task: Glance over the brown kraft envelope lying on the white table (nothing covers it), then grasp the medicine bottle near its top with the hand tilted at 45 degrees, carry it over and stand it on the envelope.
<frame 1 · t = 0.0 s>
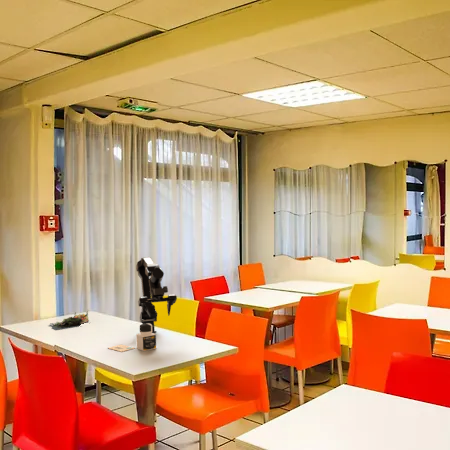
hand: (159, 316, 257), 15 cm above the table, tool tilted 35°, fingers open, 9 cm apart
medicine bottle: (146, 348, 253), on the table
envelope: (121, 348, 255), on the table
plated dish: (72, 325, 316), on the table
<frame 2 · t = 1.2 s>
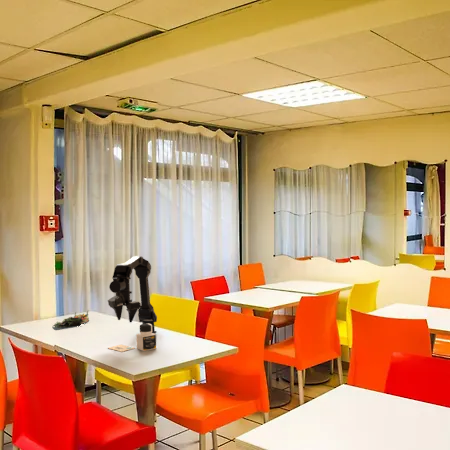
hand: (124, 321, 256), 13 cm above the table, tool pointing down, fingers open, 9 cm apart
nothing on the table moved.
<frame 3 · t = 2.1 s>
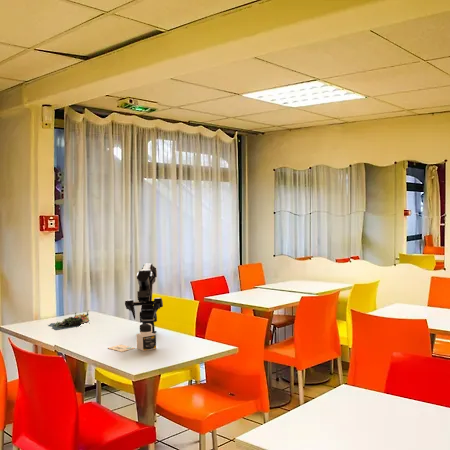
hand: (143, 318, 261), 13 cm above the table, tool tilted 35°, fingers open, 9 cm apart
nothing on the table moved.
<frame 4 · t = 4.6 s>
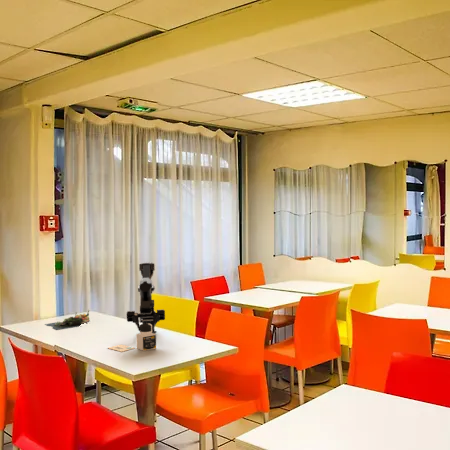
hand: (145, 330, 252), 9 cm above the table, tool tilted 45°, fingers closed on medicine bottle, 6 cm apart
medicine bottle: (146, 348, 253), on the table, touching gripper
everything else where it was.
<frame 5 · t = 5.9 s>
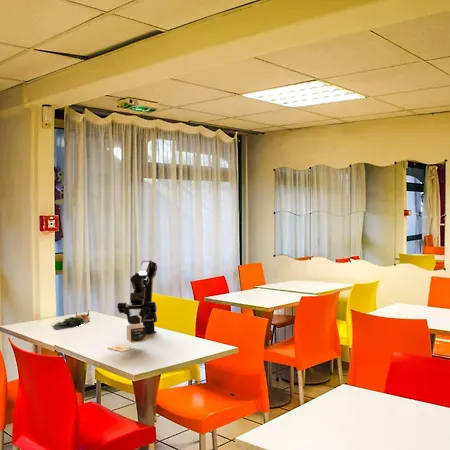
hand: (135, 322, 252), 13 cm above the table, tool tilted 45°, fingers closed on medicine bottle, 6 cm apart
medicine bottle: (136, 340, 253), point 4 cm above the table, touching gripper
everything else where it was.
when the fingers open (10 cm above the table, at t = 7.4 s): medicine bottle stays where it is, resting on envelope.
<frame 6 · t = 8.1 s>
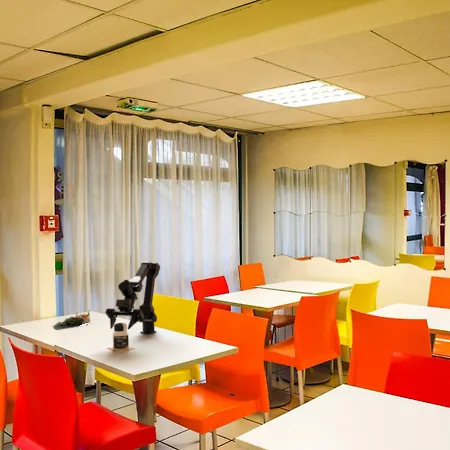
hand: (119, 328, 253), 10 cm above the table, tool tilted 45°, fingers open, 9 cm apart
medicine bottle: (121, 348, 254), resting on envelope
everything else where it was.
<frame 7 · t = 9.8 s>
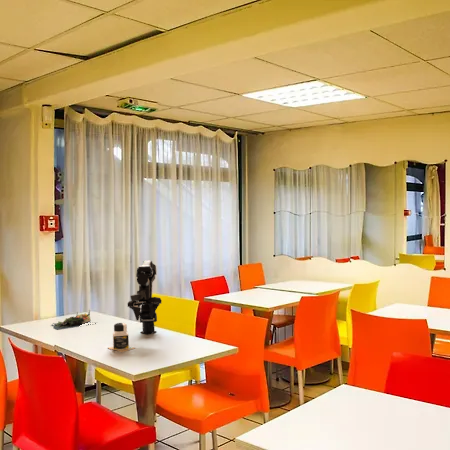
hand: (144, 319, 266), 12 cm above the table, tool tilted 20°, fingers open, 9 cm apart
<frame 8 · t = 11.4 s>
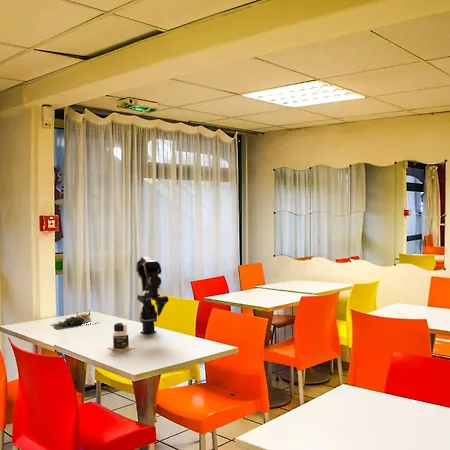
hand: (153, 314, 271), 13 cm above the table, tool pointing down, fingers open, 9 cm apart
at the end: medicine bottle inside the target area on the envelope (0.4 cm from its centre), point 0.2 cm above the envelope's base; medicine bottle tilted 0°; the gripper is holding nothing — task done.
